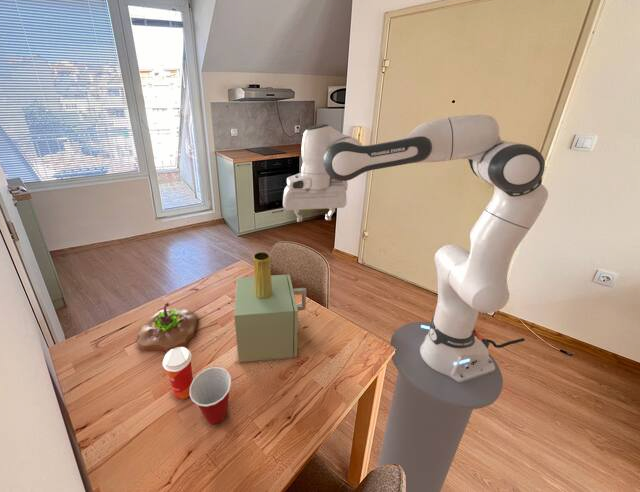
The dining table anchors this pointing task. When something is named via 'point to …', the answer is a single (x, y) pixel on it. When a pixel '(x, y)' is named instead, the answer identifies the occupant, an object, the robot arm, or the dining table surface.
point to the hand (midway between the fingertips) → (313, 220)
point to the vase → (262, 275)
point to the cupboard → (264, 321)
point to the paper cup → (179, 371)
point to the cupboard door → (296, 309)
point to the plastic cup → (211, 393)
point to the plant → (167, 329)
